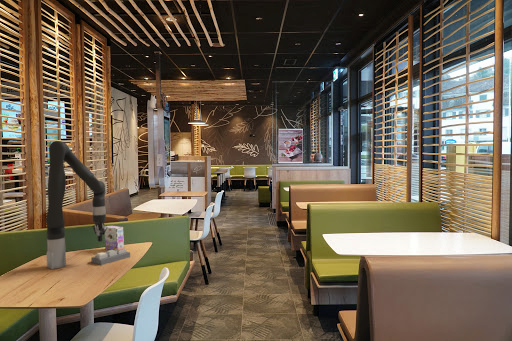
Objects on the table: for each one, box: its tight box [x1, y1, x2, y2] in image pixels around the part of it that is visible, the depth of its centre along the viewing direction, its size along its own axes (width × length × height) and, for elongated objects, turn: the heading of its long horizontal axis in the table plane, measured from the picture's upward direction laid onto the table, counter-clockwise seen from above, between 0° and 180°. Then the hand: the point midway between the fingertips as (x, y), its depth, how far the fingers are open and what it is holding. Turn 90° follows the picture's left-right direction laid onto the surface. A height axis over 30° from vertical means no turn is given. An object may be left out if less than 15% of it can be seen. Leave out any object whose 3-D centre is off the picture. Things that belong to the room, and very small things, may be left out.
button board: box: [91, 248, 131, 266], centre depth 224 cm, size 20×11×5 cm, turn 143°
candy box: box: [104, 225, 125, 251], centre depth 246 cm, size 14×6×16 cm, turn 58°
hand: (100, 241), depth 219 cm, fingers closed
